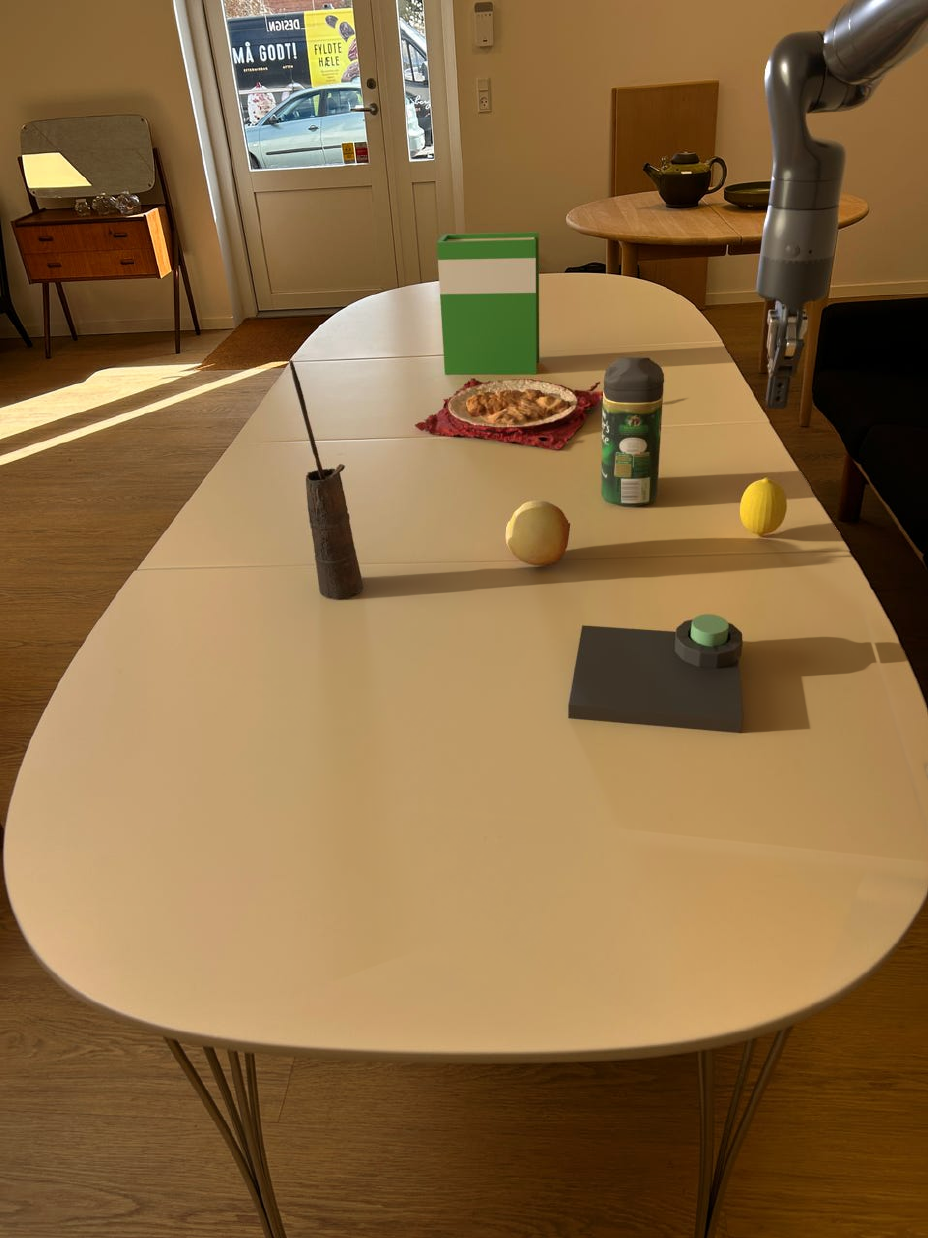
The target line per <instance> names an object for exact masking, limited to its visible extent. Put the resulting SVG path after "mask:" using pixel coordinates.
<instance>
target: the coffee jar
mask: <svg viewBox="0 0 928 1238" xmlns="http://www.w3.org/2000/svg"><path fill="white" fill-rule="evenodd" d="M664 383H665V373H664V371H663V368H662V366H660V365H659V364H658V363H657V362H655V361H654V360H653V359H651V358H650V357H648V356H646V357H645V356H642V357H641V356H640V357H639V356H633V357H632V356H629V357H628V356H626V357H625V356H623V357H619V358H618V359H617V360H616V361H614V362H613V363H611V364H610V365H608V367H607V368H606V369H605V373H604V378H603V390H602V391H603V397H602V410H601V411H602V412H601V413H602V414H601V468H600V469H601V473H600V491H601V497H602V499H603V500H604V501H605V502H606V503H610V504H612V505H617V506H619V507H627V508H628V507H629V508H630V507H634V508H635V507H638V506H643V505H648V504H651V503H653V502H654V501H655V499H656V498H657V496H658V488H659V486H658V485H659V475H660V473H659V470H660V452H661V440H662V439H661V436H662V422H663V421H662V419H663V403H664V391H665V390H664Z"/></svg>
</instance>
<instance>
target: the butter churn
mask: <svg viewBox="0 0 928 1238" xmlns="http://www.w3.org/2000/svg"><path fill="white" fill-rule="evenodd" d="M288 364H289V367H290V371H291V377H292V381H293V384H294V388H295V391H296V395H297V397H298V402H299V407H300V409H301V412H302V416H303V420H304V424H305V428H306V431H307V435H308V438H309V442H310V443H309V444H310V446H311V451H312V455H313V456H314V460H315V465H316V468H317V469H316V470H312V471H308V472H307V474H306V475H305V488H306V502H307V512H308V521H309V524H310V529H311V536H312V541H313V551H314V560H315V565H316V567H315V568H316V574H317V583H318V591H319V594H320V595H322V597H324V598H326V599H329V600H330V599H333V600H334V599H337V600H338V599H346V598H349V597H350V596H352V595H357V594H359V593H360V592H361V591H362V590H363V589H364V583H363V579H362V573H361V569H360V564H359V560H358V556H357V550H356V548H355V543H354V539H353V532H352V527H351V523H350V513H349V512H348V511H349V510H348V509H349V508H348V504H347V500H346V495H345V490H344V485H343V480H342V476H341V472H343V471H344V470H345V468H346V466H345V465H344V464H342V463H340V464H338V465H337V466H336V468H332V467H331V468H323V466H322V463H321V460H320V457H319V456H320V455H319V451H318V446H317V444H316V440H315V436H314V432H313V428H312V425H311V422H310V418H309V413H308V409H307V405H306V400H305V397H304V393H303V390H302V386H301V381H300V380H299V379H300V378H299V377H298V373H297V370H296V367H295V364H294V362H293V360H292V359H290V360H289V361H288Z"/></svg>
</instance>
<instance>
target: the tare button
mask: <svg viewBox="0 0 928 1238" xmlns="http://www.w3.org/2000/svg"><path fill="white" fill-rule="evenodd" d="M692 619H693V621H692V626H691V639H692V641H693V642H694V643H697V644H699V645H702V646H707V647H718V646H722V645H724V644H725V643H726V642H727V637H728V629H729V624H728V623H729V622H728V620H726V619H725V618H724V617H722V616H719V615H716V614H711V613H709V614H708V613H707V614H706V613H705V614H700V615H697V616H695V617H694V618H692Z"/></svg>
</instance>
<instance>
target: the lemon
mask: <svg viewBox="0 0 928 1238" xmlns="http://www.w3.org/2000/svg"><path fill="white" fill-rule="evenodd" d="M787 501H788V500H787V495H786V492H785V490H784V488H783V487H782V486H781V485H780V484H779V483H778V482H777V481H775V480H773V479H771V478H770V477H764V478H762V479H757V480H756V481H754V482H752V483H750V484H749V485H748V487H747V488H746V489H745V490H744V492H743V495H742V497H741V499H740V504H739V505H740V506H739V517H740V521H741V523H742V525H743V527H745V529H746V530H748V531H749V532H750V533H752V534H754V535H755V536H756V537H758V538H761V537H763V536H765V535H768V534H771V533H773V532H775V531H777V530H778V529H779V528H780V526H781V525H782V524H783V523H784V520H785V517H786V514H787V510H788V502H787Z"/></svg>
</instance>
